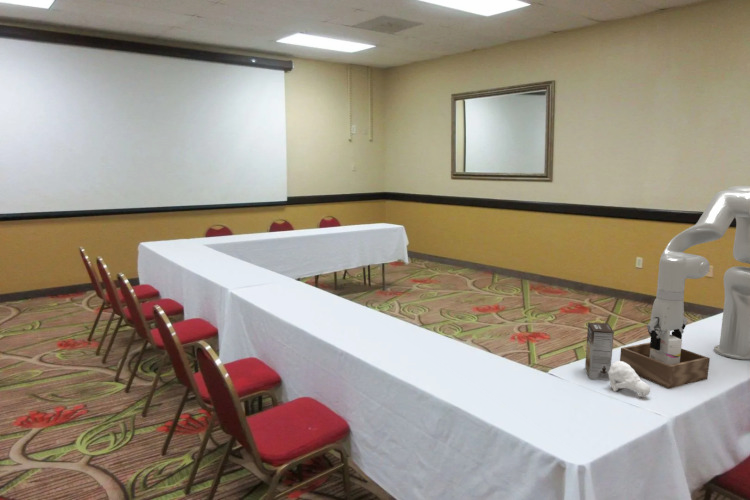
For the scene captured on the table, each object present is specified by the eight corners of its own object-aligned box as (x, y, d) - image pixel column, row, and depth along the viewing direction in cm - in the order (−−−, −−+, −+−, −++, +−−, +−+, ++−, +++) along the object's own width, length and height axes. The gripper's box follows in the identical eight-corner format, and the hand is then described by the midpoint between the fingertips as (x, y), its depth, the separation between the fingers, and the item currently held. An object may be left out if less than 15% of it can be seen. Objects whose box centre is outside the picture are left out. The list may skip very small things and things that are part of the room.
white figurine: (619, 356, 164) (658, 372, 155) (614, 382, 166) (652, 399, 157) (607, 361, 160) (647, 377, 151) (603, 386, 162) (641, 404, 153)
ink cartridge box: (679, 375, 170) (684, 330, 167) (665, 376, 169) (669, 331, 167) (661, 365, 178) (665, 322, 176) (647, 365, 177) (651, 323, 175)
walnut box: (656, 360, 185) (658, 340, 184) (707, 379, 169) (709, 358, 168) (619, 368, 178) (620, 347, 177) (668, 388, 162) (670, 366, 161)
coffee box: (584, 368, 178) (587, 321, 175) (604, 369, 176) (608, 323, 174) (589, 379, 169) (592, 330, 166) (610, 381, 167) (614, 331, 165)
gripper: (677, 289, 176) (673, 339, 179) (640, 295, 169) (636, 347, 172) (699, 294, 169) (694, 346, 172) (661, 301, 162) (657, 354, 165)
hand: (665, 346), depth 172 cm, fingers open, 9 cm apart
